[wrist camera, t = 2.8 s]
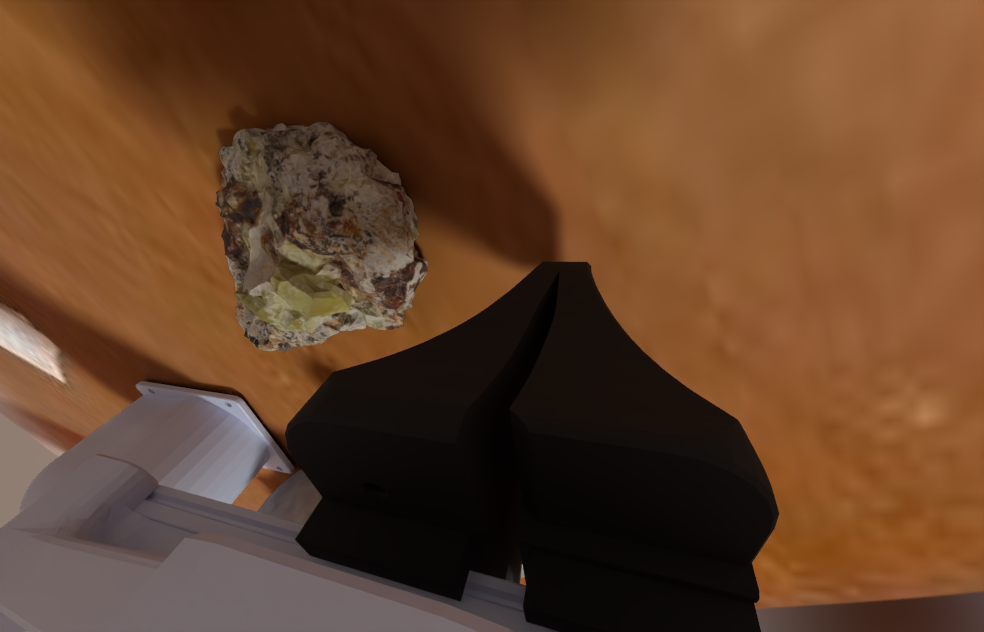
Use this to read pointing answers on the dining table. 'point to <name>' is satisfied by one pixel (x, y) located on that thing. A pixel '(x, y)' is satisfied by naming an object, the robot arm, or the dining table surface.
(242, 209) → the mineral rock
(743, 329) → the dining table surface
